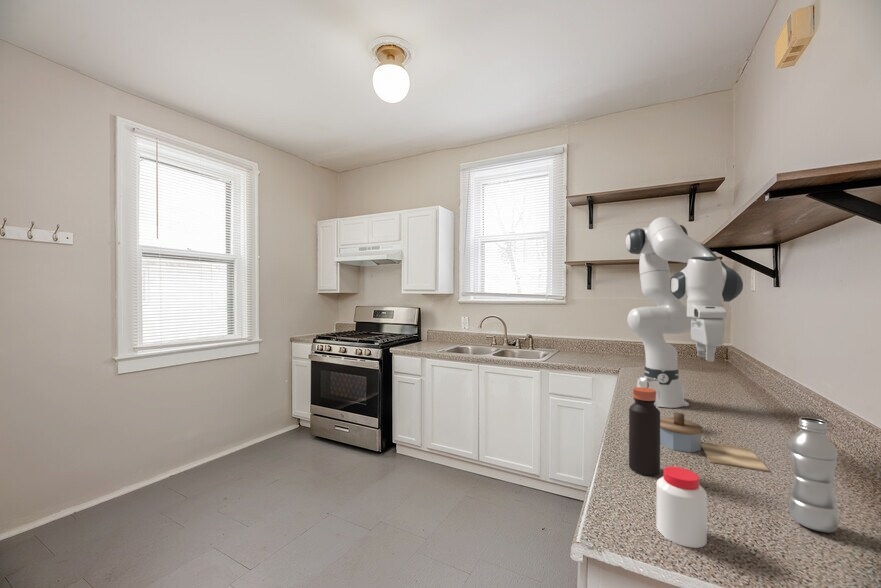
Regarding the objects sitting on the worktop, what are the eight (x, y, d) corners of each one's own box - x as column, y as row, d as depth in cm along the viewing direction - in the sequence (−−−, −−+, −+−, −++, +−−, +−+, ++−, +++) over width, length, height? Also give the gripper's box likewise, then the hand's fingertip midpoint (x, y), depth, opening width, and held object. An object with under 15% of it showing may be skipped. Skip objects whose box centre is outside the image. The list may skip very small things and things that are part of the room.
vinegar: (655, 479, 87) (656, 394, 87) (625, 470, 91) (625, 389, 91) (663, 469, 92) (663, 389, 92) (633, 461, 96) (634, 384, 96)
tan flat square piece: (698, 442, 108) (698, 441, 108) (749, 450, 103) (749, 448, 103) (710, 462, 96) (710, 460, 96) (769, 472, 91) (769, 470, 91)
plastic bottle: (836, 543, 65) (836, 429, 65) (784, 523, 70) (784, 418, 70) (842, 529, 68) (842, 421, 69) (792, 511, 74) (792, 412, 74)
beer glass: (653, 419, 128) (653, 377, 128) (663, 427, 121) (664, 381, 121) (632, 419, 129) (633, 376, 129) (641, 426, 122) (641, 381, 122)
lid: (655, 419, 114) (655, 406, 114) (697, 424, 110) (697, 410, 110) (659, 430, 104) (659, 416, 104) (706, 437, 100) (706, 422, 100)
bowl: (657, 436, 114) (657, 419, 114) (695, 441, 109) (695, 424, 110) (661, 448, 105) (661, 430, 105) (703, 454, 101) (703, 436, 101)
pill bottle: (714, 551, 62) (715, 487, 62) (663, 543, 64) (663, 480, 64) (696, 524, 70) (696, 466, 70) (651, 517, 72) (651, 461, 72)
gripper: (684, 310, 118) (685, 353, 118) (700, 311, 99) (700, 363, 99) (708, 310, 115) (709, 355, 115) (729, 312, 97) (729, 365, 96)
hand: (705, 358), depth 107 cm, fingers open, 8 cm apart
